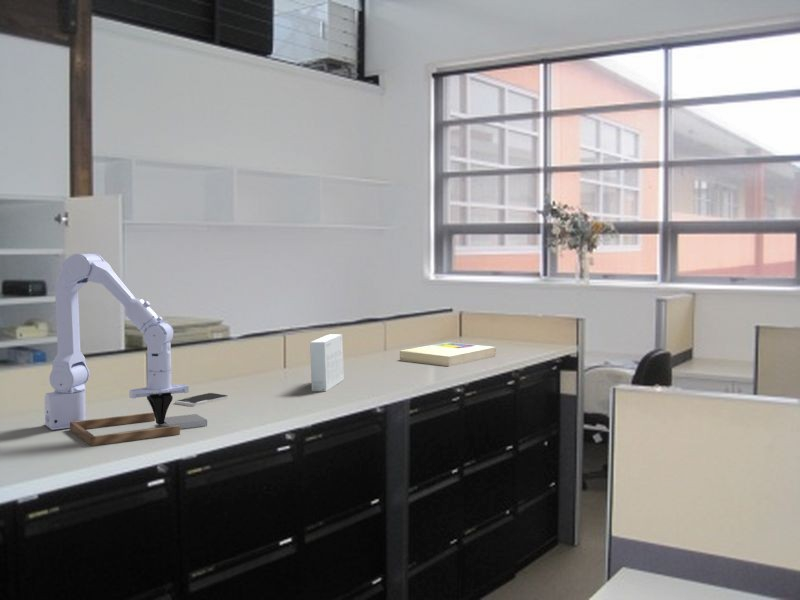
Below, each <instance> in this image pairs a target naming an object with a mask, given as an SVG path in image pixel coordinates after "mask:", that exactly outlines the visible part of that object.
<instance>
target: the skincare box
mask: <svg viewBox="0 0 800 600" xmlns="http://www.w3.org/2000/svg"><path fill="white" fill-rule="evenodd" d="M309 343H310V347H309V348H310V352H309V353H310V377H311V378H310V381H311V383H310V384H311V391H312V392H327V391H329V390H331V389H333V388H334V387H335V386H337V385H339V384H340V383H341V382H343V381H345V375H344V351H343V350H344V345H343V344H344V343H343V333H341V334H340V333H339V334H338V333H336V334H335V333H332V334H331V333H330V334H326V335H324V336H321V337H319V338H317V339H314V340H312V341H310V342H309Z"/></svg>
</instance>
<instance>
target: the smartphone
mask: <svg viewBox="0 0 800 600" xmlns="http://www.w3.org/2000/svg"><path fill="white" fill-rule="evenodd" d="M226 399H229V395H226V394H222V393H221V394H219V393H213V392H208V393H204V394H198V395H194V396H189V397H184V398H179V399H175V400H174V404H175V405H181V406H188V407H198V406H202V405H205V404H206V405H207V404H210V403H214V402H215V403H216V402H217V401H218V402H219V401H223V400H226Z"/></svg>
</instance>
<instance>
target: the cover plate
mask: <svg viewBox="0 0 800 600" xmlns="http://www.w3.org/2000/svg"><path fill="white" fill-rule="evenodd" d="M158 425H159V426H160V427H161V428H162V427H170V426H178V425H179V426H180V430H185V429H194V428H202V427H208V419H206V418H205V417H202V416H201V415H199V414H196V413H194V414H192V413H191V414H184V415H183V414H182V415H175V416H168V417H167V416H165V420H164V424H158Z"/></svg>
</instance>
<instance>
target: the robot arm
mask: <svg viewBox="0 0 800 600" xmlns="http://www.w3.org/2000/svg"><path fill="white" fill-rule="evenodd" d="M61 267H62V268H61V270H60V271H59V274H58V276H57V278H56V280H55V283H54V293H55V294H54V296H55V317H56V341H57V353H56V355H55V358H54V359H53V361H52V369H51V372H50V374H49V378H48V379H49V384H50V386H51V387H52V389H54V391H52V392H46V393H45V395H44V425H46V426H47V428H49V429H50V430H52V431H55V430H63V429H70V422H74V421H83V420H87V417H86V416H87V414H86V413H87V412H86V408H87V407H86V383H87V382H88V381H89V379H90V374H91V373H90V370H89V368H88V366H87V363H86V357H85V356H84V354H83V353H82V350H81V328H80V310H79V309H80V305H79V290H80V289H82V287H84V285H86V284H87V283H89V282H90V283H95V284H99V285H101V286H103V287H104V288H105V289H106V290H107V291H108V292H109V293H111V295H112V296H114V298H115V299H116V300H118V302H120V304H122V306H123V307H124V315H125V316H126V318H128V319H129V321H130V322H132V324H133V325H134V326H135V328H137V329H138V331H139V332H140V333H141V334H142V340H143V342H144V344H146V346H147V353H146V356H147V357H146V360H147V366H146V367H147V370H146V371H147V386H145V387H139V388H134V389H129V398H130V399H133V400H134V399H137V398H145V397H146V400H147V402H148V403H149V405H150V407H151V410H152V412H154V415H155V423H156V424H157V425H159V424H164V420H165V417H167V416H166V415H167V412H168V409H169V408H170V407H169V406H170V405H171V403H172V401H173V395H174V394H182V393H184V394H188V393H190V391H189V390H190V389H189V387H190V385H188V384H186V383H183V384H172V351H171V349H172V348H171V347H172V346H171V345H172V343H171V341H172V340H173V338H174V335H175V331H174V328H173V326H172V325H171V323H170V322H169V321H166V320H164V318H163V317H162V316H159V315H158V314H157V313H156V312H155V311H154V310H153V309H152V308H151V302H150V301H148V300H147V301H145V300H144V299H143V298H136V297H135V295H134V294H133V293H132V292H131V291H130V289H129V288H128V287H127V286H126V285H125V284H124V282H123V281H122V280H121V279H120V277H119V276H118V275H117V274H116V272H115V271H114V270H113V268H112V266H111V265H110V264H109V262H107V261H106V260H105V259H104V258H103V257H102V256H101V255H100V254H99V253H95V252H92V253H91V252H89V253H74V254H71V255H69V256H68V257H67V258H66V259H65V260H64V261H62V265H61Z"/></svg>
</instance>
